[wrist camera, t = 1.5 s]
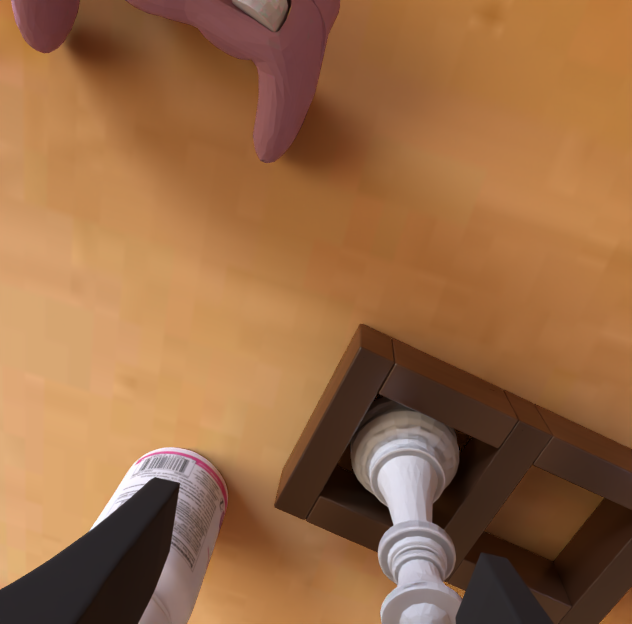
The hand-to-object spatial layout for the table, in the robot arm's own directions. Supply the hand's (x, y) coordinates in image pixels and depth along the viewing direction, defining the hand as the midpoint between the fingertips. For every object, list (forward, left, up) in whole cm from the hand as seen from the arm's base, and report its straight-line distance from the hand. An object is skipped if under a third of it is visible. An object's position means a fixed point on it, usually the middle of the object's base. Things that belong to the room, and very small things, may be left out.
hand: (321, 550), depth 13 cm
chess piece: (-4, +2, -10) cm, 11 cm away
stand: (-7, +2, -10) cm, 13 cm away
